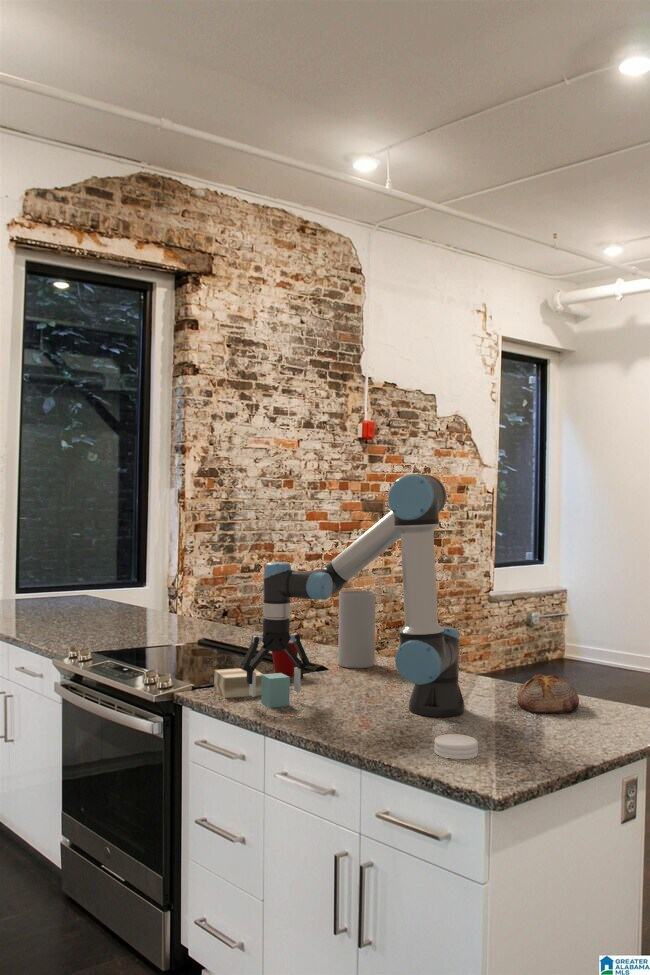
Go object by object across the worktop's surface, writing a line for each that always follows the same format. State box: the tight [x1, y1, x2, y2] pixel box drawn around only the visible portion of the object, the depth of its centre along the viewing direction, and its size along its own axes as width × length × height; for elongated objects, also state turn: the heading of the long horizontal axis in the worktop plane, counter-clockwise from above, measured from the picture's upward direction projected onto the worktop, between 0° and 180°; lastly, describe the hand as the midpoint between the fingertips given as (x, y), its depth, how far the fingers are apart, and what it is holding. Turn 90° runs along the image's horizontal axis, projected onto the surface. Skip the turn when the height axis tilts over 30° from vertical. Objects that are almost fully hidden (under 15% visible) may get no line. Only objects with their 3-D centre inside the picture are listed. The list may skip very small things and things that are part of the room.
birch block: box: [213, 667, 263, 699], centre depth 260 cm, size 12×12×6 cm
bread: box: [517, 673, 580, 714], centre depth 247 cm, size 16×20×10 cm
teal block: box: [260, 672, 291, 709], centre depth 246 cm, size 6×6×8 cm
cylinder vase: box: [337, 590, 376, 669], centre depth 302 cm, size 12×12×25 cm
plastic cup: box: [271, 639, 303, 678], centre depth 284 cm, size 11×11×12 cm
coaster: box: [433, 733, 479, 760], centre depth 202 cm, size 10×10×4 cm
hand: (274, 693), depth 246 cm, fingers open, 13 cm apart
